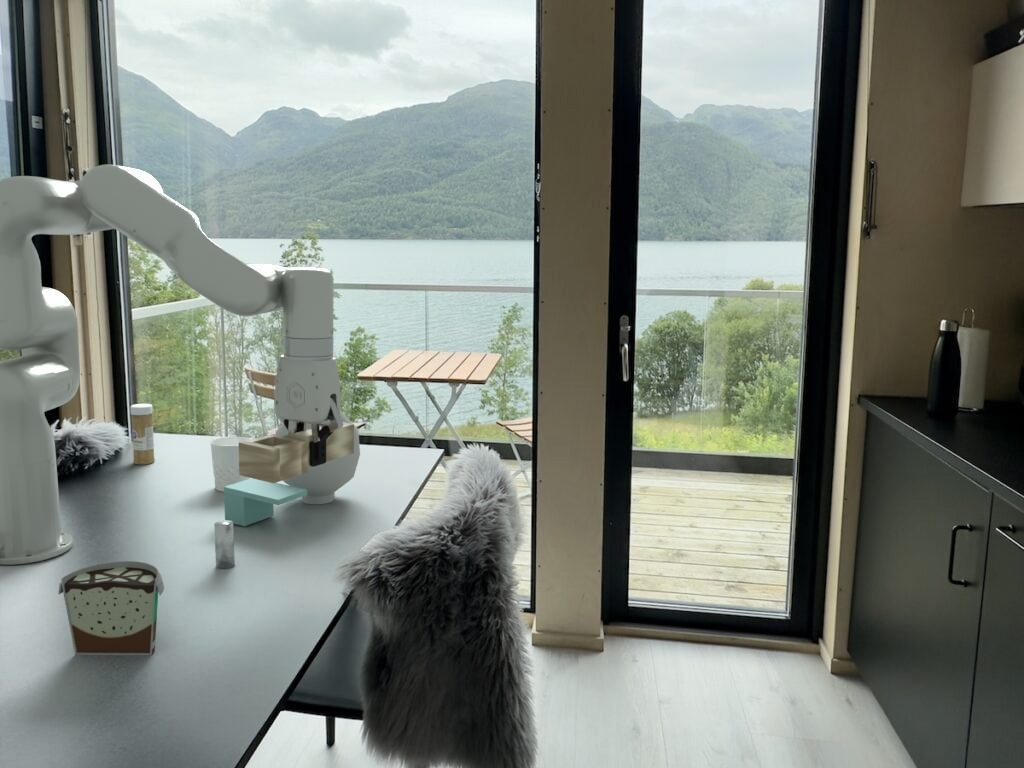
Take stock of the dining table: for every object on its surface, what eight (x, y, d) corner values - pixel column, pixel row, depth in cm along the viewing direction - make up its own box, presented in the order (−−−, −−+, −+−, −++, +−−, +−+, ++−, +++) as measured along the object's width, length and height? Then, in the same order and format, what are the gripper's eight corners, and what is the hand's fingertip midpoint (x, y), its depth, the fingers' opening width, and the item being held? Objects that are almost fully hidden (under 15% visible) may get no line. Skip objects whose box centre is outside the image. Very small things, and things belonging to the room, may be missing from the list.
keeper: (279, 535, 140) (278, 499, 139) (225, 521, 146) (223, 486, 145) (307, 524, 146) (307, 489, 145) (254, 510, 152) (253, 477, 151)
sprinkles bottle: (128, 463, 182) (125, 405, 180) (144, 458, 187) (141, 402, 184) (144, 466, 181) (141, 407, 179) (159, 461, 185) (156, 404, 183)
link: (273, 483, 116) (273, 449, 116) (239, 475, 120) (238, 442, 119) (363, 455, 134) (363, 425, 133) (331, 448, 137) (331, 420, 136)
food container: (182, 631, 106) (178, 559, 104) (163, 655, 100) (159, 579, 98) (87, 631, 105) (82, 558, 104) (62, 654, 99) (56, 578, 97)
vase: (374, 491, 167) (373, 358, 162) (336, 516, 151) (334, 369, 146) (302, 483, 171) (299, 353, 166) (258, 507, 155) (254, 364, 151)
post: (224, 570, 125) (222, 527, 124) (212, 566, 127) (210, 524, 126) (238, 564, 128) (237, 522, 127) (226, 560, 129) (224, 519, 128)
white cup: (258, 483, 171) (257, 437, 169) (242, 494, 163) (241, 446, 161) (223, 481, 171) (221, 435, 170) (205, 492, 164) (203, 444, 162)
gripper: (252, 345, 125) (254, 459, 128) (332, 355, 117) (332, 477, 120) (287, 341, 132) (288, 450, 135) (365, 351, 124) (364, 466, 127)
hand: (309, 461), depth 127 cm, fingers closed on link, 3 cm apart
